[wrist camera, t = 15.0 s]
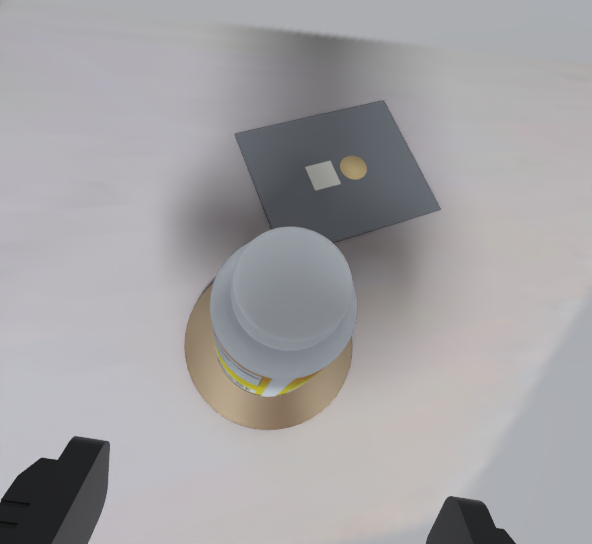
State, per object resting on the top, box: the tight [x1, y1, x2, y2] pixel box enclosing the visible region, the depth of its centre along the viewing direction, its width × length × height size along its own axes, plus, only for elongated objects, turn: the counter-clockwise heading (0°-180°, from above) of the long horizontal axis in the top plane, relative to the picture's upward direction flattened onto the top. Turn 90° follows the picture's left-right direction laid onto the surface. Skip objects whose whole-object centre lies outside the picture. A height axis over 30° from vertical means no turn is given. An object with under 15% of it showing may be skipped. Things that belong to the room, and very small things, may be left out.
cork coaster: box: [185, 284, 352, 430], centre depth 24 cm, size 9×9×1 cm
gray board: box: [235, 100, 441, 243], centre depth 29 cm, size 11×9×1 cm
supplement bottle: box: [210, 227, 357, 397], centre depth 19 cm, size 6×6×10 cm
